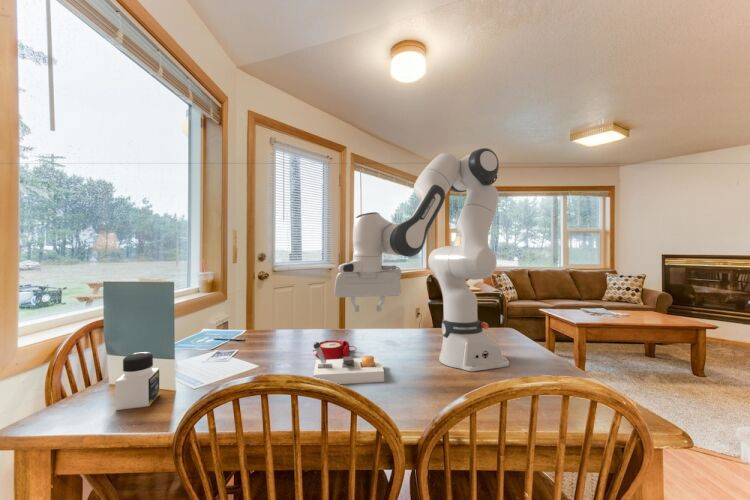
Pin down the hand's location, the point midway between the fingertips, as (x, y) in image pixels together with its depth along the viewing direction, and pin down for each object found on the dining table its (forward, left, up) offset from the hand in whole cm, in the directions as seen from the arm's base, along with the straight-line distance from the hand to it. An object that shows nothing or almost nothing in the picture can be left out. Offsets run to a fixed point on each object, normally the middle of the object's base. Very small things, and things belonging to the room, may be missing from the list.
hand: (367, 311), depth 98 cm
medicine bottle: (+59, +10, -19) cm, 63 cm away
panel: (+6, 0, -19) cm, 20 cm away
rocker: (+6, 0, -15) cm, 16 cm away
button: (0, 0, -18) cm, 18 cm away
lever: (+13, 0, -16) cm, 20 cm away
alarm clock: (+10, -20, -20) cm, 30 cm away
